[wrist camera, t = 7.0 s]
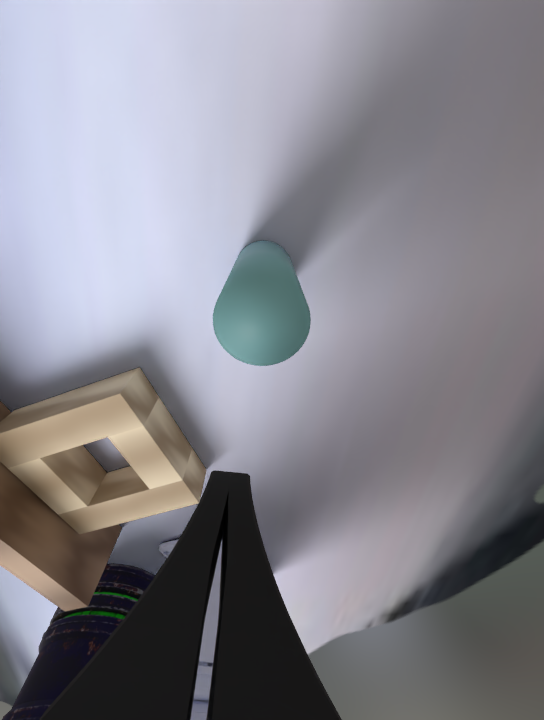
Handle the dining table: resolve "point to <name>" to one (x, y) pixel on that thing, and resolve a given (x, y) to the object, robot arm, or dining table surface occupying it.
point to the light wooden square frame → (80, 469)
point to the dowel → (262, 307)
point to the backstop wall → (49, 545)
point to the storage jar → (78, 639)
